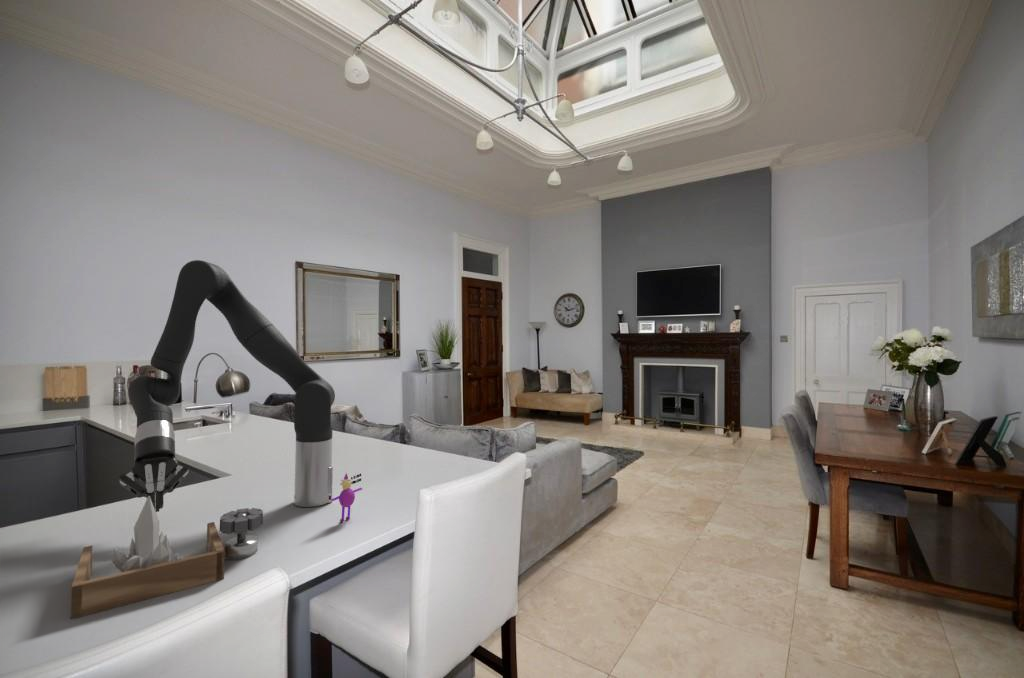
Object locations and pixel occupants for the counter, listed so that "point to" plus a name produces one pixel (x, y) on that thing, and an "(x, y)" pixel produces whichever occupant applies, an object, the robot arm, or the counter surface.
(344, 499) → the wizard figurine
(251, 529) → the wheel
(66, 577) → the counter surface
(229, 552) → the axle mount
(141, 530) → the crystal
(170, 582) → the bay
